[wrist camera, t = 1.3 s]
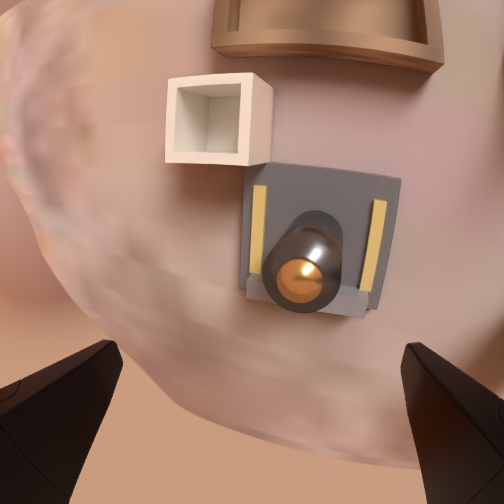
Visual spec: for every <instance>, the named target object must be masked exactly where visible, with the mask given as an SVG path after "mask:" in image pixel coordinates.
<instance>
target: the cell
mask: <svg viewBox="0 0 504 504" xmlns="http://www.w3.org/2000/svg"><path fill="white" fill-rule="evenodd" d="M342 256H343V232H342V229H341V226H340V224H339V223H338V221H337V220H336V219H335V218H334V217H333V216H331V215H330V214H328V213H326V212H323V211H319V210H311V211H307V212H304V213H302V214H300V215H299V216H298V217H296V218H295V220H294V221H293V222H292V223H291V225H290V226H289V227H288V229H287V230H286V231H285V233H284V234H283V235H282V237H281V238H280V239H279V241H278V242H277V243H276V245H275V246H274V247H273V249H272V250H271V251H270V253H269V254H268V256H267V257H266V259H265V262H264V265H263V269H262V279H263V284H264V287H265V289H266V291H267V293H268V295H269V296H270V297H271V298H272V299H273V301H274V302H276V303H277V304H278V305H279V306H281V307H283V308H285V309H287V310H289V311H292V312H297V313H311V312H315V311H318V310H321V309H322V308H324V307H326V306H327V305H329V304H330V303H331V302H332V301H333V299H334V298H335V297H336V295H337V293H338V291H339V289H340V285H341V274H342Z"/></svg>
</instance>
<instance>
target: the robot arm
mask: <svg viewBox="0 0 504 504" xmlns="http://www.w3.org/2000/svg"><path fill="white" fill-rule="evenodd" d="M122 367H123V361H122V357H121V354H120V352H119V349H118V346H117V344H116V342H115V341H113V340H101V341H99V342H97V343H95V344H93V345H91V346H89V347H87V348H85V349H83V350H81V351H79V352H77V353H75V354H73V355H71V356H69V357H67V358H64V359H62V360H60V361H58V362H56V363H54V364H52V365H50V366H48V367H46V368H44V369H42V370H40V371H37V372H35V373H33V374H31V375H29V376H27V377H25V378H23V379H22V380H18V381H17V382H14V383H12V384H10V385H8V386H5V387H3V388H1V389H0V504H69V501H70V500H69V499H70V498H71V496H72V493H73V490H74V488H75V485H76V482H77V479H78V478H79V475H80V472H81V470H82V467H83V465H84V463H85V460H86V458H87V455H88V453H89V450H90V448H91V446H92V443H93V441H94V438H95V436H96V434H97V432H98V429H99V427H100V425H101V423H102V420H103V418H104V416H105V414H106V411H107V409H108V406H109V404H110V402H111V399H112V396H113V393H114V390H115V387H116V384H117V381H118V379H119V376H120V373H121V370H122ZM401 376H402V382H403V388H404V394H405V401H406V407H407V413H408V418H409V422H410V426H411V430H412V434H413V438H414V442H415V446H416V450H417V454H418V459H419V463H420V468H421V473H422V478H423V483H424V488H425V493H426V498H427V504H504V400H503V399H502V398H499V396H497V395H496V394H494V393H493V392H492V391H490V390H489V389H487V388H486V387H484V386H483V385H482V384H480V383H479V382H477V381H476V380H474V379H473V378H471V377H470V376H469V375H467V374H466V373H464V372H463V371H461V370H460V369H458V368H457V367H456V366H454V365H453V364H451V363H450V362H448V361H447V360H445V359H444V358H442V357H441V356H440V355H438V354H437V353H435V352H434V351H432V350H431V349H429V348H428V347H426V346H425V345H423V344H422V343H420V342H415V343H408V344H407V345H406V347H405V351H404V355H403V359H402V363H401Z"/></svg>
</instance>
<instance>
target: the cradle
mask: <svg viewBox="0 0 504 504" xmlns="http://www.w3.org/2000/svg"><path fill="white" fill-rule="evenodd" d="M400 186H401V179H400V178H396V177H390V176H384V175H377V174H371V173H364V172H357V171H350V170H342V169H334V168H326V167H317V166H308V165H298V164H287V163H276V162H269V163H263V164H257V165H251V166H245V167H244V189H243V212H242V236H241V261H240V288H245V289H246V299H251V300H256V301H261V302H267V303H272V304H277V303H276V302H274V301H273V299H272V298H271V297H270V296H269V295H268V293H267V291H266V289H265V287H264V284H263V279H262V269H263V265H264V262H265V259H266V257H267V256H268V254H269V253H270V251H271V250H272V249H273V247H274V246H275V245H276V243H277V242H278V241H279V239H280V238H281V237H282V235H283V234H284V233H285V231H286V230H287V229H288V227H289V226H290V225H291V223H292V222H293V221H294V220H295V218H296V217H298V216H299V215H300V214H302V213H304V212H307V211H311V210H319V211H323V212H326V213H328V214H330V215H331V216H333V217H334V218H335V219H336V220H337V221H338V223H339V224H340V226H341V229H342V232H343V256H342V274H341V285H340V289H339V291H338V293H337V295H336V297H335V298H334V299H333V301H332V302H331V303H330V304H329V305H327V306H326V307H324V308H322V309H321V310H318V311H319V312H325V313H331V314H338V315H344V316H351V317H358V318H364V317H365V313H366V309H373V310H377V307H378V303H379V299H380V295H381V291H382V287H383V282H384V278H385V273H386V269H387V264H388V259H389V254H390V249H391V244H392V238H393V233H394V227H395V221H396V215H397V208H398V201H399V194H400Z"/></svg>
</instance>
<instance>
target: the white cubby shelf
mask: <svg viewBox="0 0 504 504" xmlns="http://www.w3.org/2000/svg"><path fill="white" fill-rule="evenodd" d="M274 98H275V90H274V89H273V88H272V87H271V86H270V85H268V84H267V83H266V82H265V81H263V80H262V79H261V78H260V77H258V76H257V75H256V74H254V73H227V74H211V75H200V76H189V77H181V78H172V79H169V80H168V95H167V113H166V140H165V163H200V164H224V165H241V166H251V165H257V164H263V163H269V162H271V153H272V135H273V117H274Z"/></svg>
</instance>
